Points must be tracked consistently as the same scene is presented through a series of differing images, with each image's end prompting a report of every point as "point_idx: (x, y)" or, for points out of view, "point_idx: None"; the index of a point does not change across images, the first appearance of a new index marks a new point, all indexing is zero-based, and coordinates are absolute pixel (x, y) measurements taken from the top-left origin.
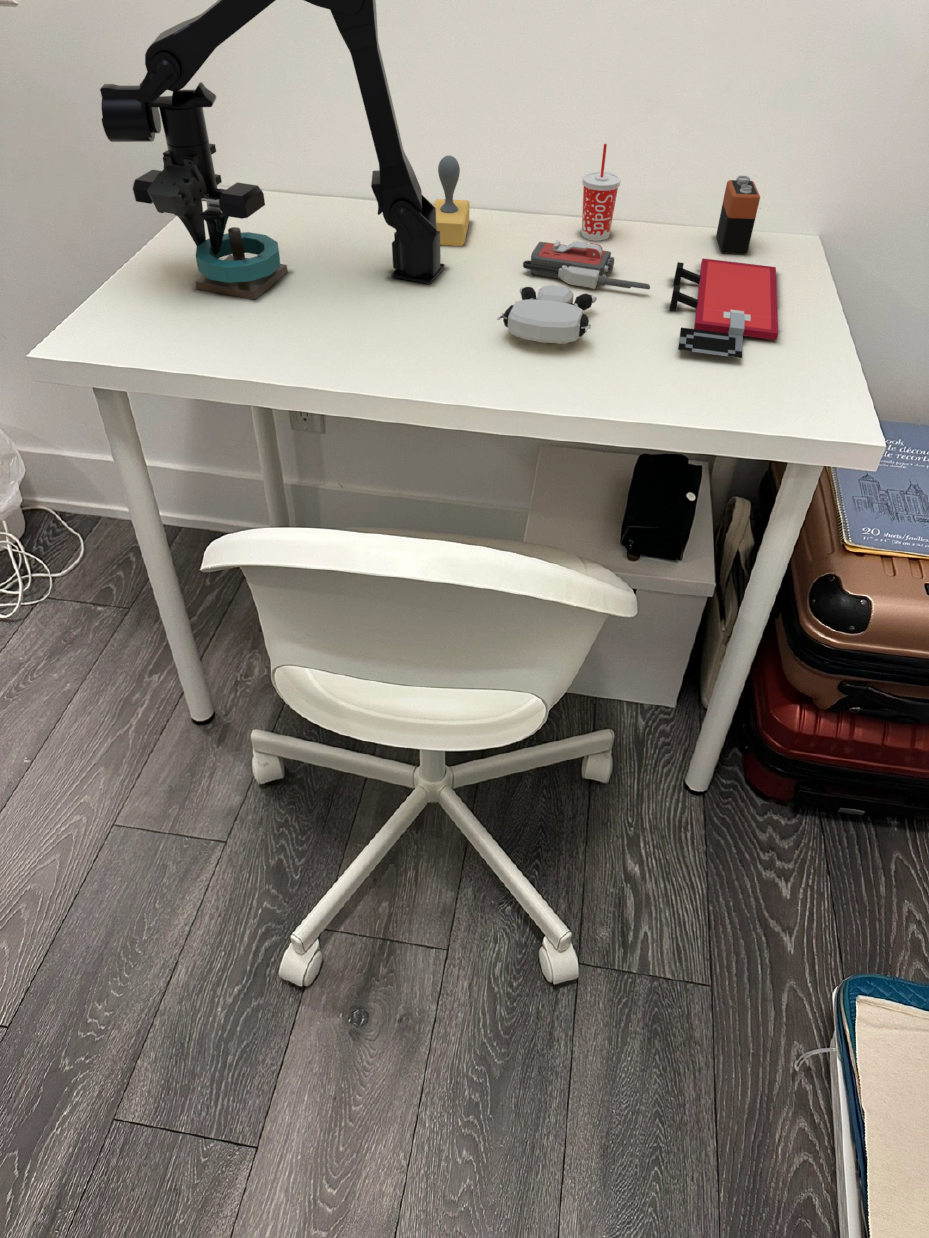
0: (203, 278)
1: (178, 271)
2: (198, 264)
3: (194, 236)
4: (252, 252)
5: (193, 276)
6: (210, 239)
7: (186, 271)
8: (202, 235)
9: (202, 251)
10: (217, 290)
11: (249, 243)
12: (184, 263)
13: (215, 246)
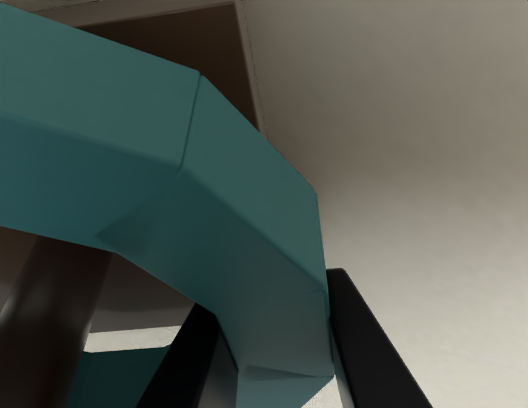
0: (217, 75)
1: (517, 124)
2: (158, 106)
3: (369, 381)
4: (129, 357)
5: (387, 117)
6: (194, 390)
7: (465, 145)
8: (343, 399)
9: (207, 258)
10: (51, 16)
11: (127, 403)
12: (521, 203)
13: (174, 339)
